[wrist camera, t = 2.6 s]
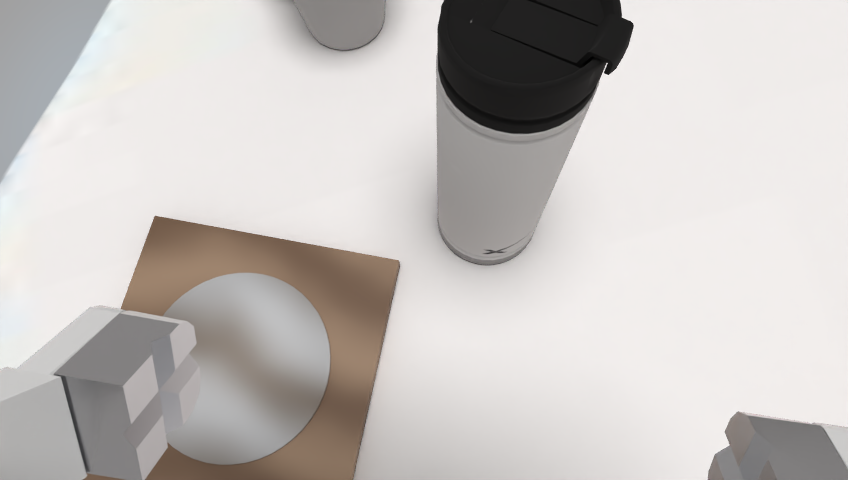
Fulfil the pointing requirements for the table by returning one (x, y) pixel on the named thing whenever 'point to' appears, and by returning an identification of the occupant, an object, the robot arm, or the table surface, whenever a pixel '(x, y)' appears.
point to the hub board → (266, 350)
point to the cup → (342, 21)
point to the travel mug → (513, 111)
